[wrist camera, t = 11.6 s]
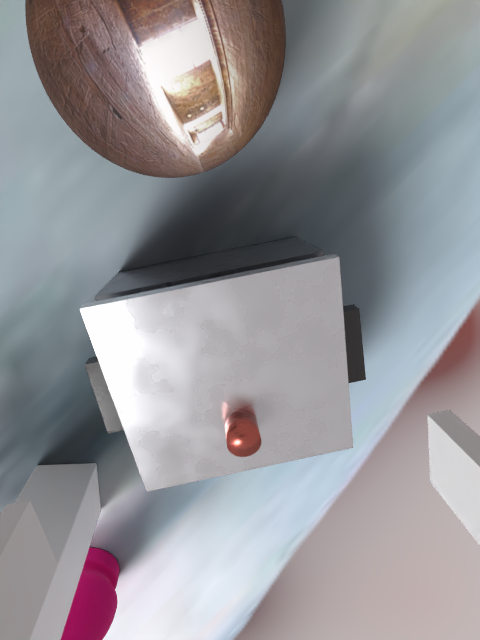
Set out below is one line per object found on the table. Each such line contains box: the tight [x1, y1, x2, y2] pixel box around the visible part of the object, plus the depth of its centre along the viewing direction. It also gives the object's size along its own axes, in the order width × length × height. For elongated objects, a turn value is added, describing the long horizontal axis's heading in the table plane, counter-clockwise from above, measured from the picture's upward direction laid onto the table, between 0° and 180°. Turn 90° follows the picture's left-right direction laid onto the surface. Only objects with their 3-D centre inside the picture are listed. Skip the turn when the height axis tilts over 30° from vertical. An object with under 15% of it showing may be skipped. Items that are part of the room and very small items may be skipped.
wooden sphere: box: [25, 0, 286, 178], centre depth 25 cm, size 15×15×15 cm
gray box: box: [85, 237, 366, 433], centre depth 35 cm, size 16×21×9 cm
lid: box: [80, 254, 353, 492], centre depth 28 cm, size 16×16×3 cm
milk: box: [15, 463, 101, 640], centre depth 33 cm, size 6×6×22 cm
